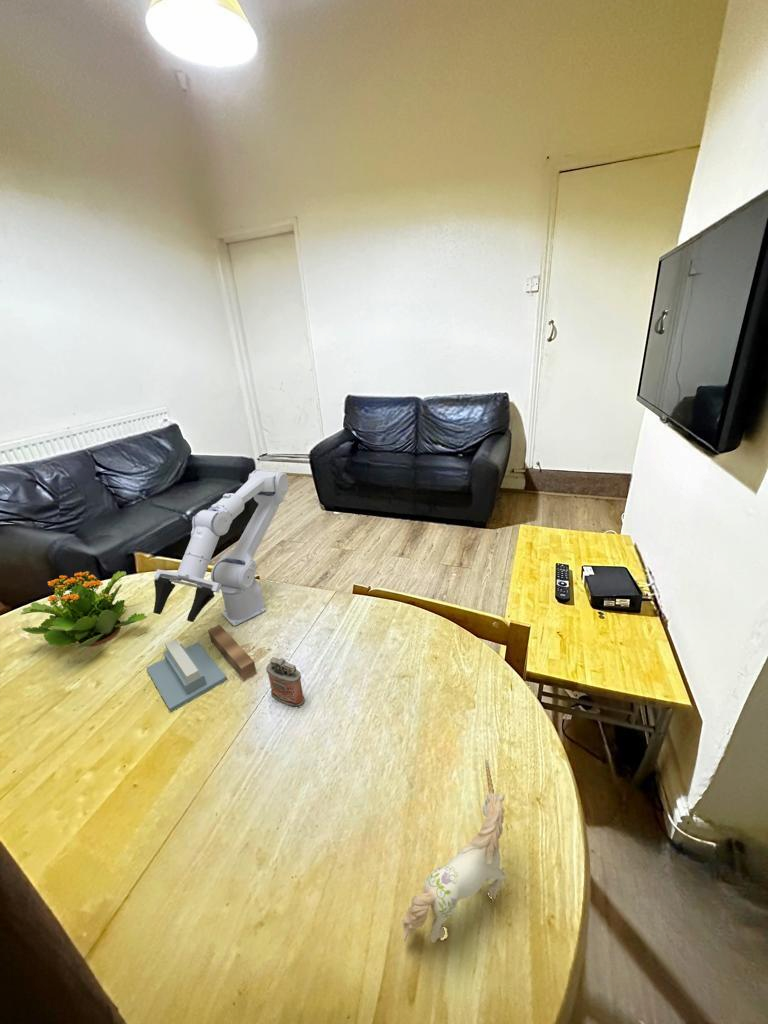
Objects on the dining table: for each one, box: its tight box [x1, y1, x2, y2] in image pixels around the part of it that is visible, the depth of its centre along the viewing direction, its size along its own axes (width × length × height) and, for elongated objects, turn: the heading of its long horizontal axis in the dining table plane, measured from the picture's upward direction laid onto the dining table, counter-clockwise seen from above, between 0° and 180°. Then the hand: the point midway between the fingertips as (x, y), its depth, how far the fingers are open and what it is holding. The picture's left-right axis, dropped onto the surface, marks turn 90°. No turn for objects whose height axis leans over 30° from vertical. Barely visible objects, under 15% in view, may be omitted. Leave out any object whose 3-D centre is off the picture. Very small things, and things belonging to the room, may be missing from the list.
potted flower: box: [20, 570, 148, 649], centre depth 103 cm, size 25×24×18 cm
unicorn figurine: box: [401, 758, 506, 944], centre depth 53 cm, size 7×20×13 cm, turn 137°
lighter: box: [265, 656, 306, 708], centre depth 84 cm, size 8×3×10 cm, turn 62°
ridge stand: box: [145, 638, 228, 713], centre depth 92 cm, size 16×12×6 cm
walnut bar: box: [207, 624, 257, 681], centre depth 97 cm, size 18×3×4 cm, turn 44°
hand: (173, 617), depth 90 cm, fingers open, 7 cm apart
